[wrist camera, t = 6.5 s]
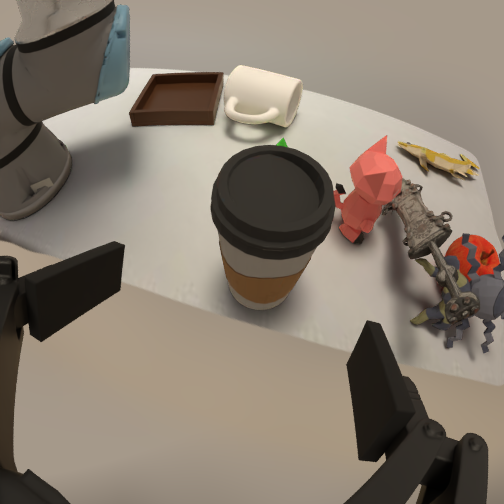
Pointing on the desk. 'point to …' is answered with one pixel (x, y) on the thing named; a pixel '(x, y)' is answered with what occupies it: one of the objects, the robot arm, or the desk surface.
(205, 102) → the serving tray
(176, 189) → the desk surface
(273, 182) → the coffee cup
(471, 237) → the apple
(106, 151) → the desk surface
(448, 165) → the toy
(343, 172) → the desk surface
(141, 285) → the desk surface
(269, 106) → the mug
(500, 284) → the toy
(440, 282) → the decorative dagger
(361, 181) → the cat figurine
